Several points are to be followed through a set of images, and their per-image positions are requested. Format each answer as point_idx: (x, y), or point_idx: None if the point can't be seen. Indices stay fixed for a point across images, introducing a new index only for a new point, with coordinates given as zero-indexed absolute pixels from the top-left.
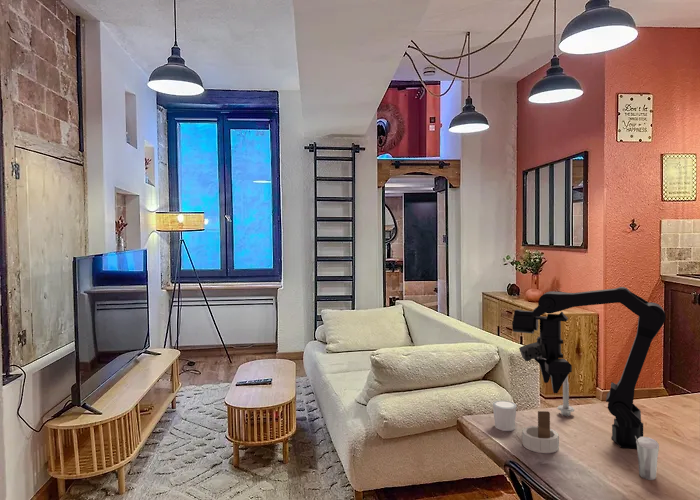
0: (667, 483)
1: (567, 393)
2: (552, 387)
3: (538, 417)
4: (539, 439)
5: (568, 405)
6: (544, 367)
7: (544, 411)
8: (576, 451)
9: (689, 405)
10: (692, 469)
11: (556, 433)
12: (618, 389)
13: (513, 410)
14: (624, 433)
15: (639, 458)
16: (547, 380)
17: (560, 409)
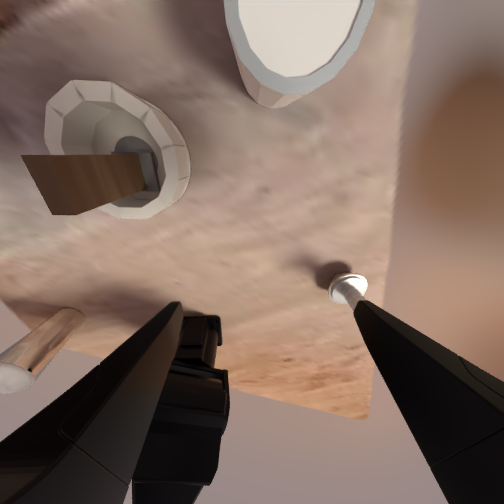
0: None
1: None
2: (159, 323)
3: (63, 155)
4: (45, 137)
5: (346, 299)
6: (463, 418)
7: (65, 194)
8: (136, 241)
9: (335, 411)
10: None
11: (129, 215)
12: (132, 483)
13: (239, 60)
14: (178, 344)
15: (30, 334)
16: (361, 323)
17: (343, 277)
